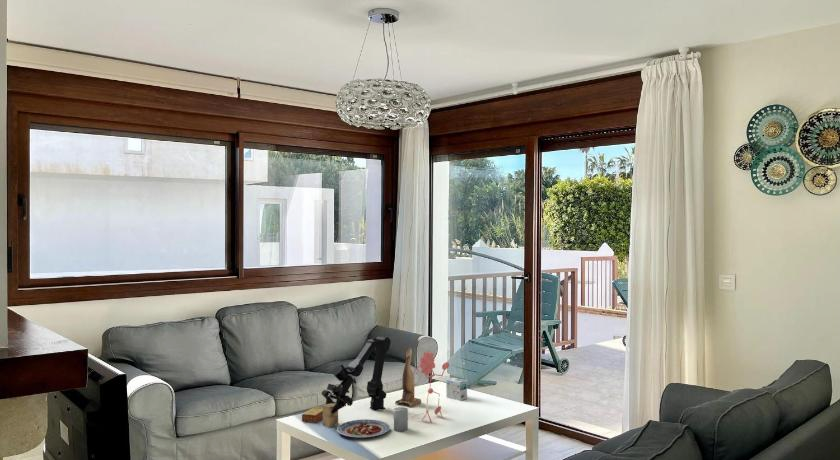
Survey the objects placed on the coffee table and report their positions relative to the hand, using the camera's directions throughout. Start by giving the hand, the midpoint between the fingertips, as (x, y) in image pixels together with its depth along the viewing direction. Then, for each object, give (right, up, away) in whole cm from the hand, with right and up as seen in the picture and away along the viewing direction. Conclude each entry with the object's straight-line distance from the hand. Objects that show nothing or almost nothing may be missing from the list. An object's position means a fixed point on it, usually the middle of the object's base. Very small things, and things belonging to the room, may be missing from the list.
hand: (328, 412), depth 320 cm
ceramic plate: (+19, -7, -10) cm, 22 cm away
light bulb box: (+68, -6, +47) cm, 83 cm away
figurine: (+50, -6, +11) cm, 52 cm away
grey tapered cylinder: (+37, -7, -7) cm, 38 cm away
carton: (-8, -7, +13) cm, 17 cm away
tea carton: (+1, -7, +1) cm, 7 cm away
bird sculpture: (+40, -6, +36) cm, 54 cm away
